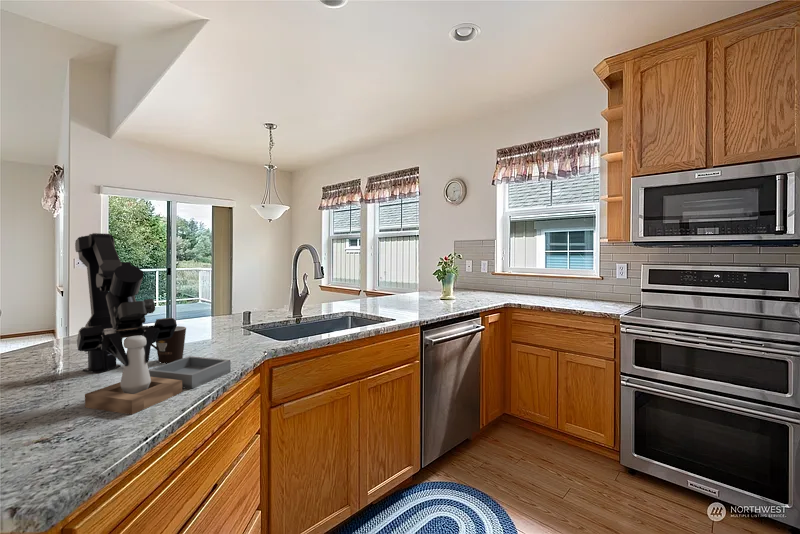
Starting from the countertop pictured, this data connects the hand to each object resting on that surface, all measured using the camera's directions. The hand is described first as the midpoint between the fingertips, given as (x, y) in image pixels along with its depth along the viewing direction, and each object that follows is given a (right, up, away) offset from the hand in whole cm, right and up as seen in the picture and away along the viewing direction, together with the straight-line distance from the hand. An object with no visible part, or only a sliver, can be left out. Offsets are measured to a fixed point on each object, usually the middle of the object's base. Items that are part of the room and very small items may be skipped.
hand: (137, 363), depth 86 cm
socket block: (-1, -9, +1) cm, 9 cm away
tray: (+3, -8, +17) cm, 19 cm away
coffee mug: (-13, -8, +33) cm, 37 cm away
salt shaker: (-1, -7, +1) cm, 7 cm away
